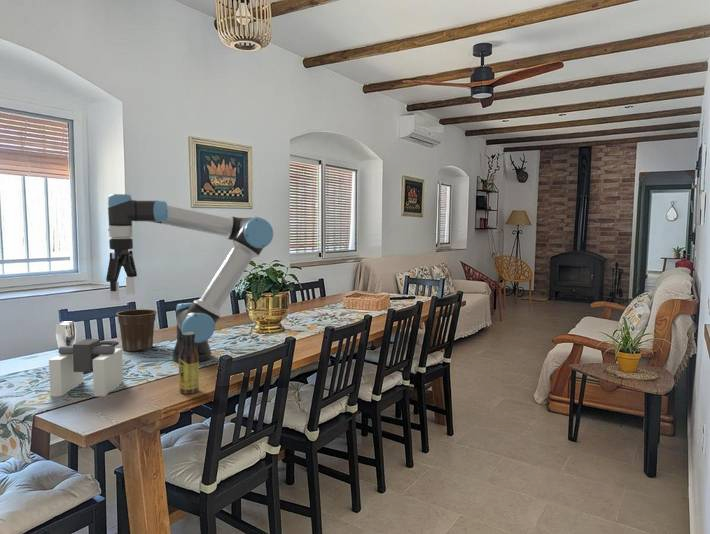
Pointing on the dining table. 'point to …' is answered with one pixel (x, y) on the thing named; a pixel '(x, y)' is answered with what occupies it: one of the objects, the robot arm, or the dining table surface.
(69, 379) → the shelf stand
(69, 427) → the dining table surface
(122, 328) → the plant pot
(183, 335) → the sauce bottle
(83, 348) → the grey block
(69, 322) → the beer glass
